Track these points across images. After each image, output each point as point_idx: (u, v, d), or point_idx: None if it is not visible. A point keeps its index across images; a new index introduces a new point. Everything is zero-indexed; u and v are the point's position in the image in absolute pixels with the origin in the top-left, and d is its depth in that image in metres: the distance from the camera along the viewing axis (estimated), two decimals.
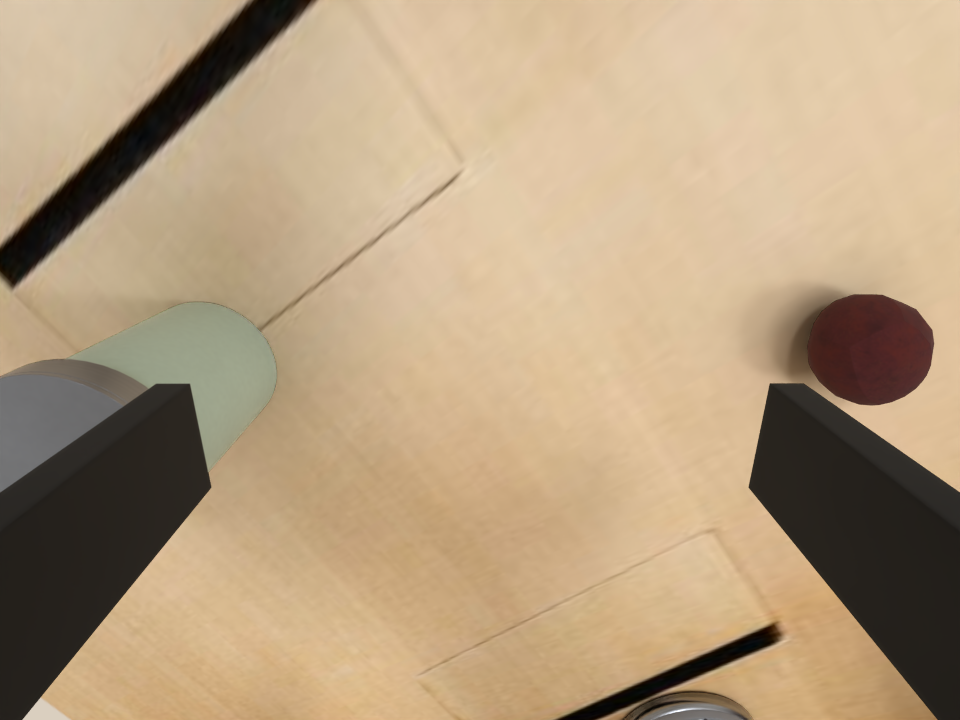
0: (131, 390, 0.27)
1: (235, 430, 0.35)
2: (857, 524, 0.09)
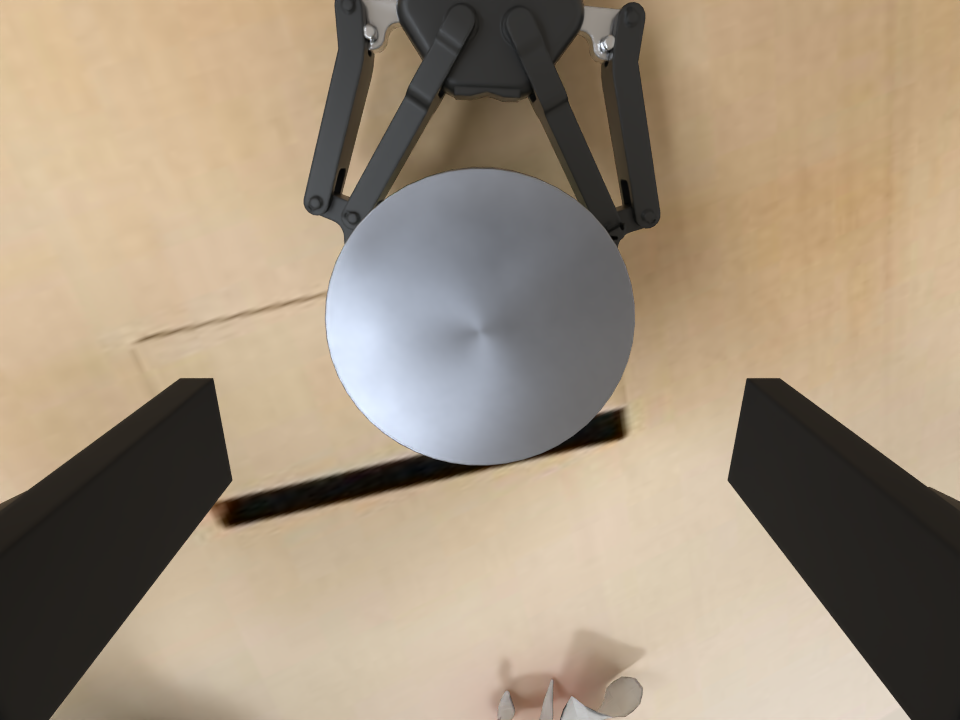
0: None
1: None
2: (825, 513, 0.09)
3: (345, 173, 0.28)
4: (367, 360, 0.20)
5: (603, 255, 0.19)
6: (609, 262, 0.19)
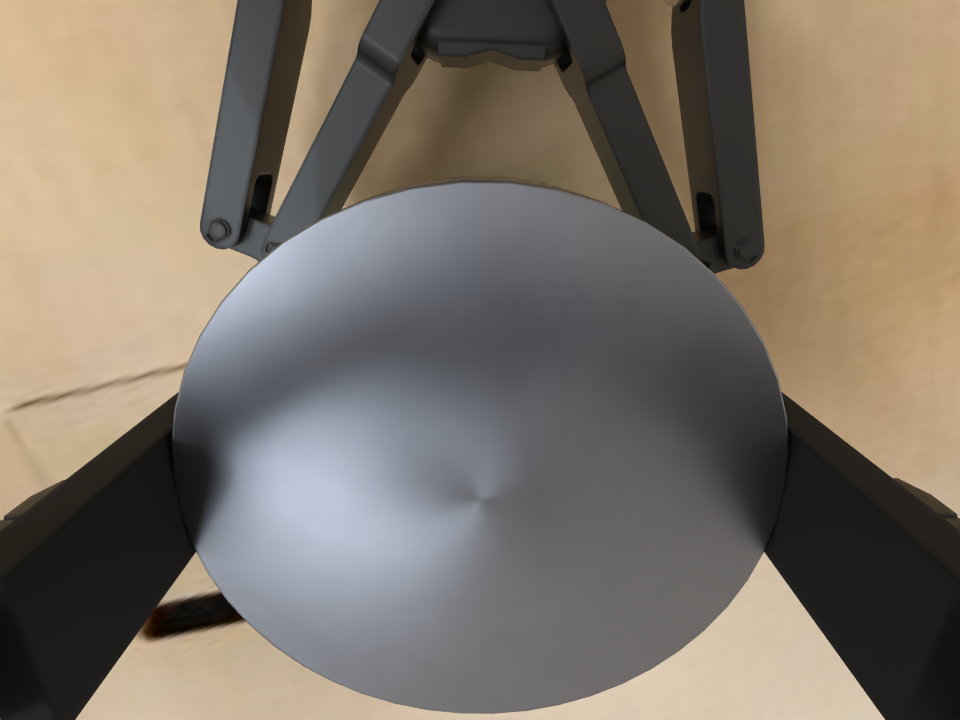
0: None
1: None
2: (796, 504, 0.10)
3: (273, 182, 0.18)
4: (263, 549, 0.11)
5: (735, 360, 0.09)
6: (746, 373, 0.09)
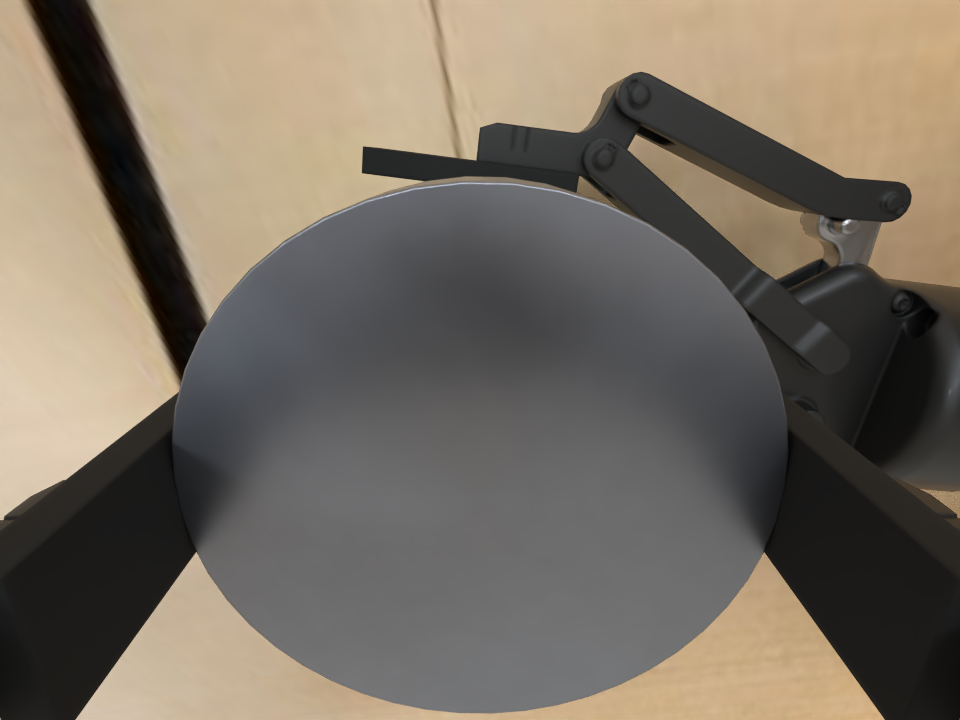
0: None
1: None
2: (795, 504, 0.10)
3: (654, 141, 0.18)
4: (262, 548, 0.11)
5: (736, 362, 0.09)
6: (747, 375, 0.09)
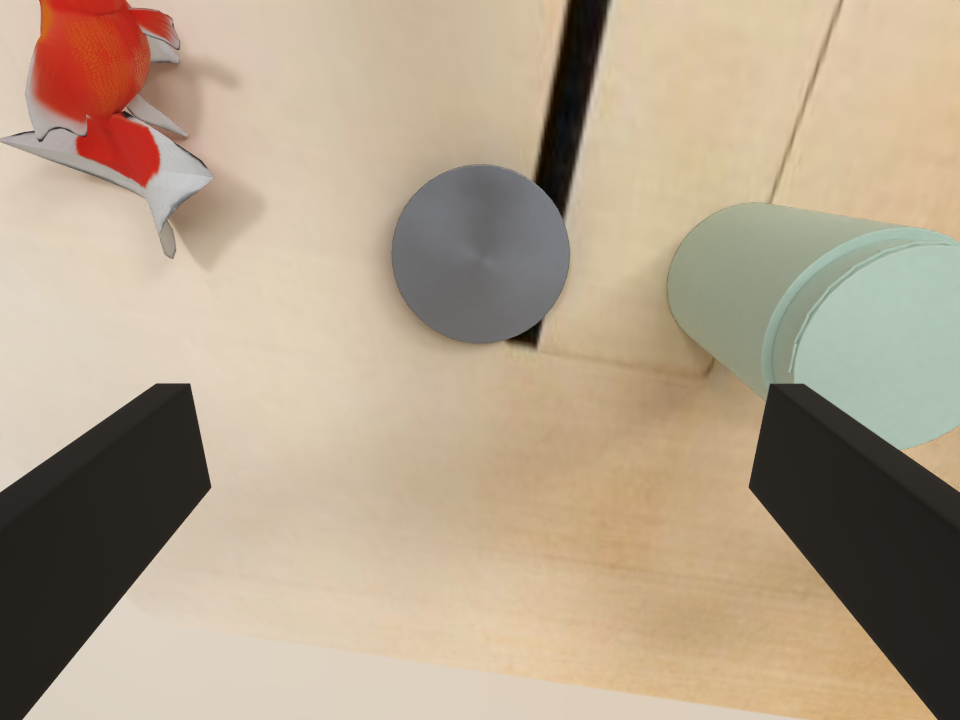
0: None
1: None
2: (857, 524, 0.09)
3: None
4: (415, 276, 0.35)
5: (550, 214, 0.34)
6: (553, 218, 0.34)
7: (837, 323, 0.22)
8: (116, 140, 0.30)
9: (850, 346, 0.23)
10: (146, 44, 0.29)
